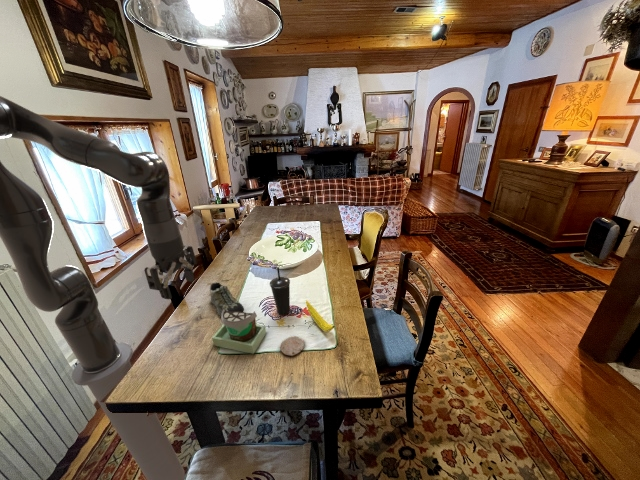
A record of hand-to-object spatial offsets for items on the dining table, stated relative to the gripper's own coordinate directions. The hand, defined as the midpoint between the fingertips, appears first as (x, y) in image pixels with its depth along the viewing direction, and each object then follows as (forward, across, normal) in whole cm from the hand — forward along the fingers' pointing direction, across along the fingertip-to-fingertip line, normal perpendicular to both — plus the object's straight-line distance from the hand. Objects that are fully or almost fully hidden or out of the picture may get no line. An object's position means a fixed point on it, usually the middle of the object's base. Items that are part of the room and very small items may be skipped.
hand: (179, 289), depth 71 cm
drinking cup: (+26, +27, -18) cm, 42 cm away
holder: (+26, +10, -9) cm, 30 cm away
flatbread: (+26, +10, -28) cm, 40 cm away
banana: (+26, +22, -34) cm, 48 cm away
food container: (+26, +10, -9) cm, 29 cm away
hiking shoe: (+27, +24, +6) cm, 37 cm away
